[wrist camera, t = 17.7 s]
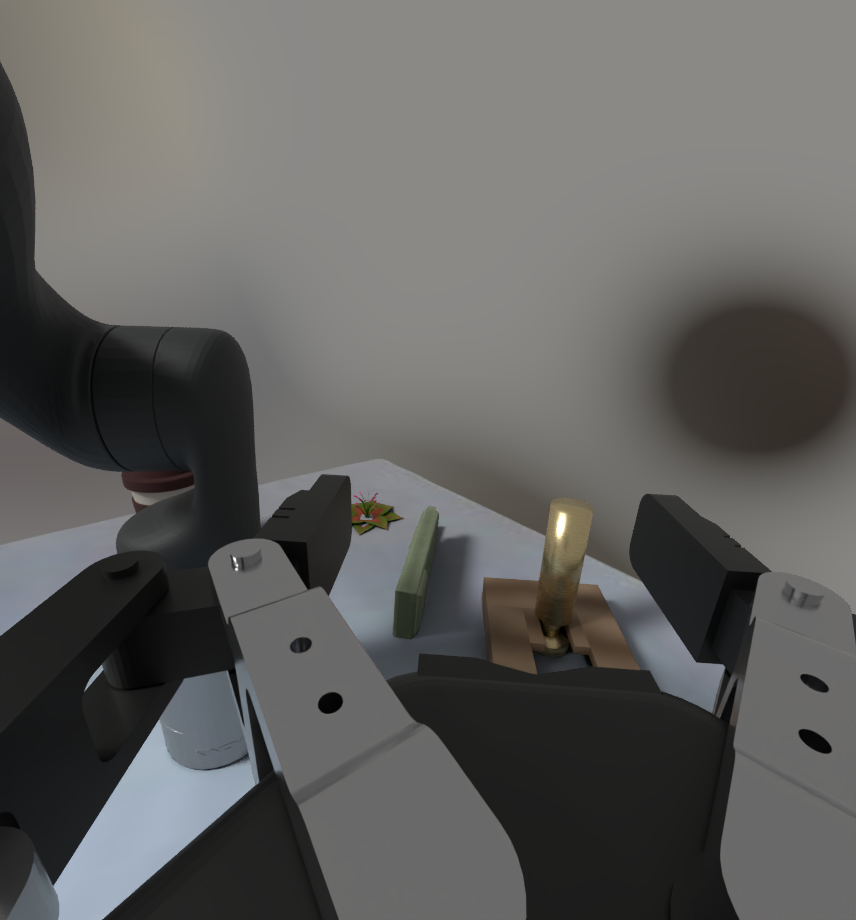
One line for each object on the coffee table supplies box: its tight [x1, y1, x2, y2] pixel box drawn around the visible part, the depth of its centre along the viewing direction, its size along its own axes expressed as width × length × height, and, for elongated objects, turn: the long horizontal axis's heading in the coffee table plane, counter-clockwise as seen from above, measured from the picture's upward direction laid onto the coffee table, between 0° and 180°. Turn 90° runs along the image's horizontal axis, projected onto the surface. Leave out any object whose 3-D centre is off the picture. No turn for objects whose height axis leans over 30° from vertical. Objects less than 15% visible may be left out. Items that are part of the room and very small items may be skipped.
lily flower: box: [351, 493, 402, 535], centre depth 73 cm, size 12×12×5 cm
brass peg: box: [535, 498, 594, 657], centre depth 45 cm, size 4×4×17 cm
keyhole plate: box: [482, 577, 640, 674], centre depth 44 cm, size 20×14×3 cm
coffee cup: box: [121, 471, 195, 513], centre depth 58 cm, size 10×10×15 cm
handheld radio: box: [393, 506, 439, 639], centre depth 58 cm, size 7×3×25 cm
